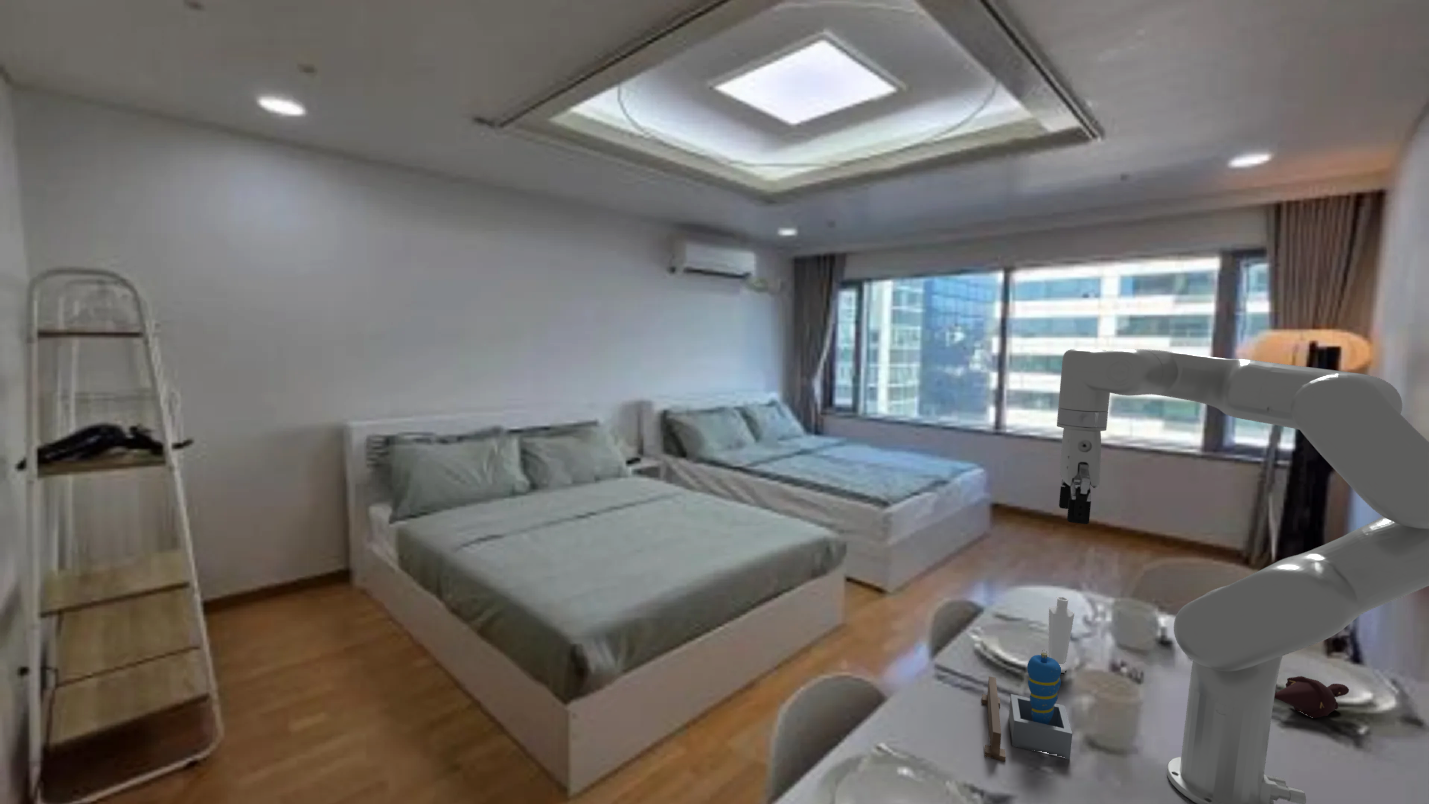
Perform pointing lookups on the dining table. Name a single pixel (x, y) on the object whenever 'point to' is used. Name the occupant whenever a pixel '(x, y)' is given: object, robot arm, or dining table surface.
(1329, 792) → the dining table surface
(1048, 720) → the ornament
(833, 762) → the dining table surface
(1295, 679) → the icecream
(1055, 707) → the holder
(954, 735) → the dining table surface
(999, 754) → the rail
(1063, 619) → the perfume bottle
